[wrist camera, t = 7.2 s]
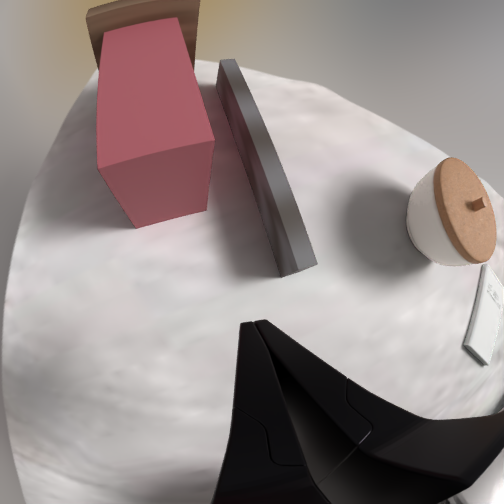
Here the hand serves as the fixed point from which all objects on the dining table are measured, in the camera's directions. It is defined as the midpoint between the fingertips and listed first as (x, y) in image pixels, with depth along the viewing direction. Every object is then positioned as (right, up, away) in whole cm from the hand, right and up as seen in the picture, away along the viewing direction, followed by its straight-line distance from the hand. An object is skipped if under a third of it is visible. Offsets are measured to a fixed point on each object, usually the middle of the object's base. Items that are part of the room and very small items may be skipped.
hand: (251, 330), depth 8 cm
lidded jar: (+20, +5, +18) cm, 27 cm away
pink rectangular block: (-9, +12, +14) cm, 20 cm away
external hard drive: (+33, -7, +19) cm, 39 cm away
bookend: (-6, +10, +14) cm, 18 cm away
